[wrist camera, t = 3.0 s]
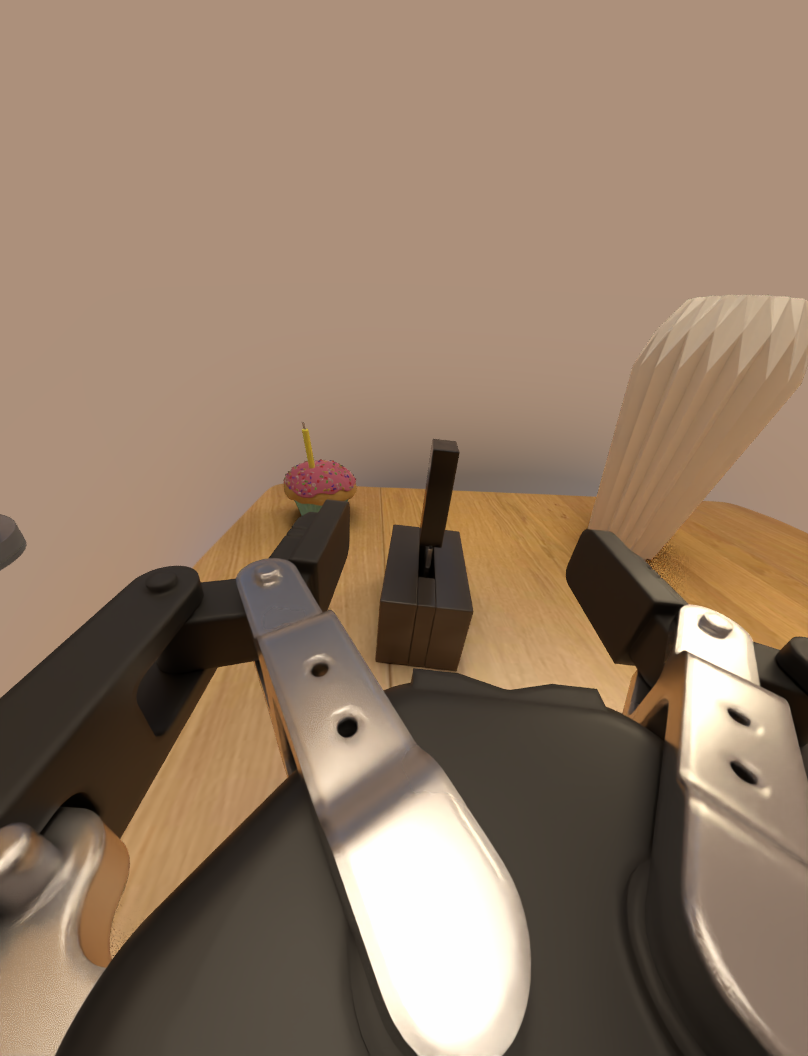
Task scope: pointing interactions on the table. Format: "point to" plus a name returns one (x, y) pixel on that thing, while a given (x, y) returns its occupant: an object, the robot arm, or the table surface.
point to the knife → (437, 497)
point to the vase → (697, 410)
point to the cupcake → (318, 481)
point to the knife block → (423, 603)
